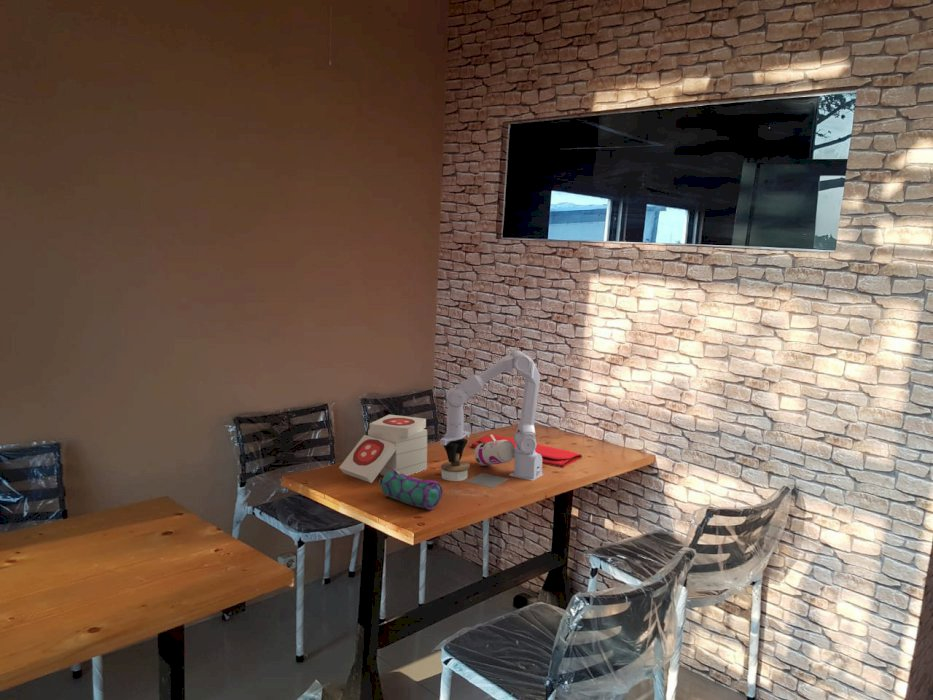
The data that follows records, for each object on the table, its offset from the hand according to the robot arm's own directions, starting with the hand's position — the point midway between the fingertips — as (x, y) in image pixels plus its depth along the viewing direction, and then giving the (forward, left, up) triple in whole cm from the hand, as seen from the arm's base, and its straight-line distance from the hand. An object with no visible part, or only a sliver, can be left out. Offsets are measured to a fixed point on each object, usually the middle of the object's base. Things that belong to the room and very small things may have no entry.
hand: (454, 460), depth 252 cm
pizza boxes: (+22, +11, -6) cm, 25 cm away
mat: (-11, -4, -6) cm, 13 cm away
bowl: (0, 0, -6) cm, 6 cm away
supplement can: (+1, -18, -2) cm, 18 cm away
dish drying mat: (-5, -41, -7) cm, 42 cm away
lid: (0, 0, -2) cm, 2 cm away
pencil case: (-3, +27, -6) cm, 28 cm away
